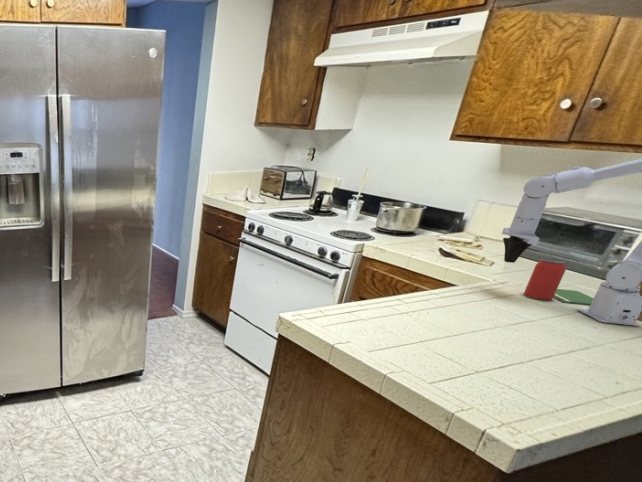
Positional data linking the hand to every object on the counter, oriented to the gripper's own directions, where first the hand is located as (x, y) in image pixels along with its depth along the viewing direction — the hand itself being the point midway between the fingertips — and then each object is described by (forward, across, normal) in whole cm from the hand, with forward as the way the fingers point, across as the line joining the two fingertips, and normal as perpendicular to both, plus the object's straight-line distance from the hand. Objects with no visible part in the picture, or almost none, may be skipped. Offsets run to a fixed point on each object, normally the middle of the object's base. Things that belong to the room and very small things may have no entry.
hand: (509, 261), depth 145 cm
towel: (+10, -4, +21) cm, 24 cm away
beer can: (+11, 0, +11) cm, 15 cm away
